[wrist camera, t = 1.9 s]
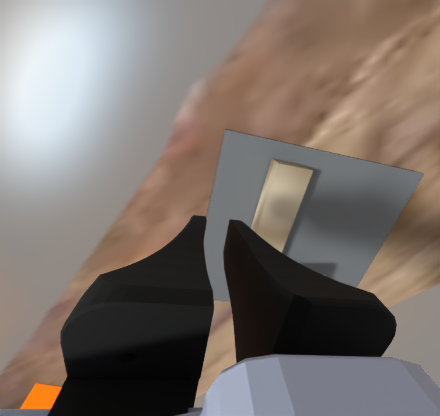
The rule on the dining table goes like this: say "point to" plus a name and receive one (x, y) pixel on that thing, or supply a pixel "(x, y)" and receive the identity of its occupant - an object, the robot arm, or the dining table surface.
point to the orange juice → (41, 397)
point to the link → (280, 201)
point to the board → (308, 206)
